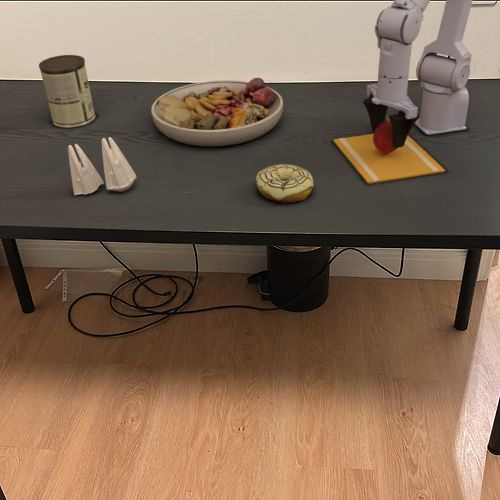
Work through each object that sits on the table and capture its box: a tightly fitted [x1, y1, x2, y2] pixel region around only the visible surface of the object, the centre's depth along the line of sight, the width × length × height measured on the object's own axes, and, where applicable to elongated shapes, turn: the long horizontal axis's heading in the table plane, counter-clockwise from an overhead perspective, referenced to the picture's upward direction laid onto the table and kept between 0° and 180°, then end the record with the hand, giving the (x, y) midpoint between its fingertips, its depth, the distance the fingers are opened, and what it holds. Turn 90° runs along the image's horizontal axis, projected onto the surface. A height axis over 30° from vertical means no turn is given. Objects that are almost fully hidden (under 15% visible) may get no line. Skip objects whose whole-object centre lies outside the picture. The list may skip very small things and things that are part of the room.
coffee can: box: [38, 54, 96, 129], centre depth 149 cm, size 10×10×14 cm
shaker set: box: [67, 136, 137, 196], centre depth 120 cm, size 12×4×11 cm, turn 88°
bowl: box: [150, 77, 284, 147], centre depth 145 cm, size 30×30×8 cm
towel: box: [332, 133, 446, 185], centre depth 130 cm, size 16×20×1 cm
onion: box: [373, 116, 397, 154], centre depth 128 cm, size 6×6×8 cm
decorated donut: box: [255, 163, 315, 204], centre depth 119 cm, size 10×11×4 cm
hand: (387, 139), depth 128 cm, fingers open, 7 cm apart
